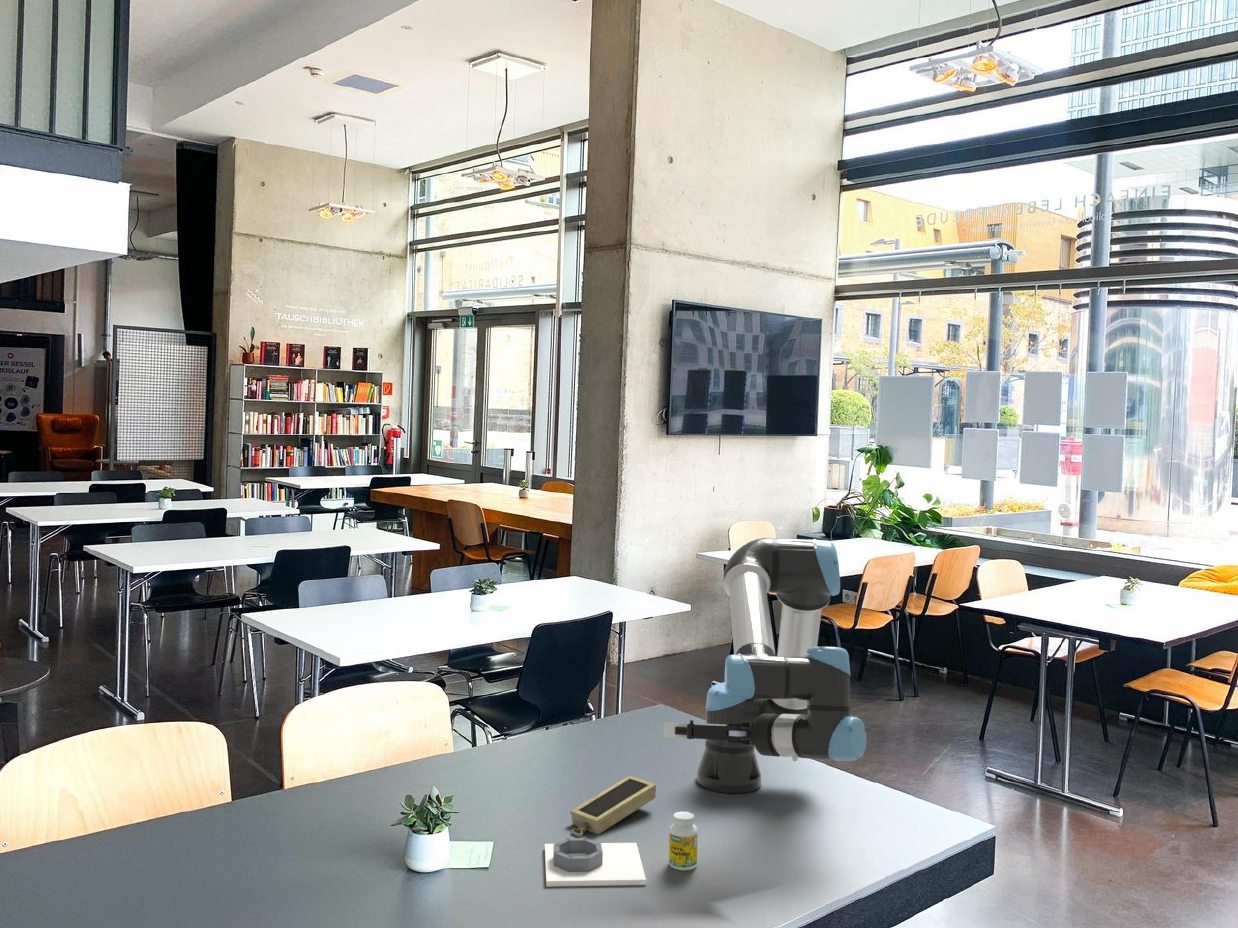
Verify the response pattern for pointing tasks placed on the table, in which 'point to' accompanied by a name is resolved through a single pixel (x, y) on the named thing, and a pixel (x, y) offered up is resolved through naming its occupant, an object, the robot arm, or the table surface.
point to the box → (612, 805)
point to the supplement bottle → (683, 842)
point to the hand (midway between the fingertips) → (685, 729)
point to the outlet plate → (604, 875)
